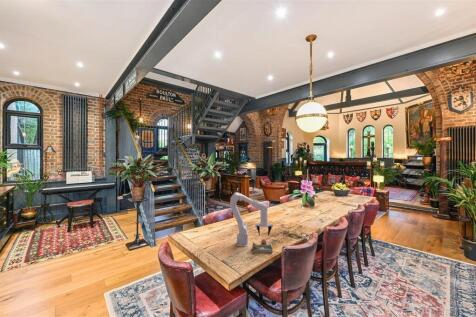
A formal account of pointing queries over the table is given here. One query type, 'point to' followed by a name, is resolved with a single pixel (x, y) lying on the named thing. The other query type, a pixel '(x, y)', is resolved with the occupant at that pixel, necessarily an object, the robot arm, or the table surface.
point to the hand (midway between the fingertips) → (263, 235)
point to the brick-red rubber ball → (263, 241)
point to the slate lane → (264, 249)
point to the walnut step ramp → (255, 246)
